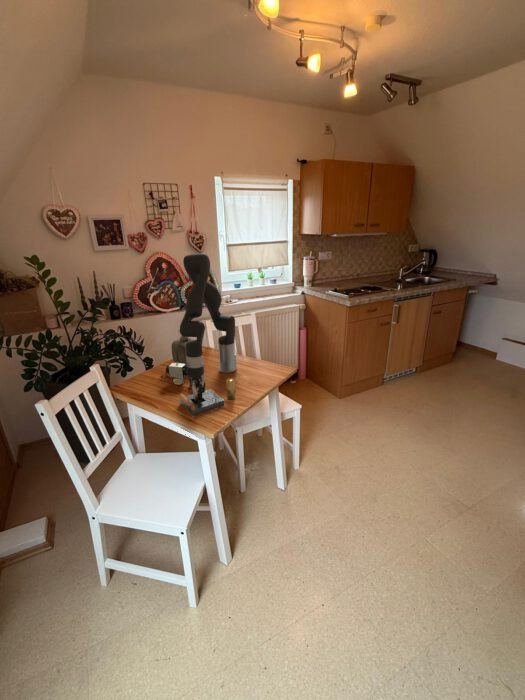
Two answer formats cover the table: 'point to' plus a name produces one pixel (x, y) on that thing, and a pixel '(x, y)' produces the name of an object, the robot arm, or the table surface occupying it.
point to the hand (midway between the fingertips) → (197, 397)
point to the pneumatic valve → (177, 372)
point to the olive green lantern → (180, 350)
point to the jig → (208, 402)
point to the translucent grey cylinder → (195, 395)
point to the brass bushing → (230, 389)
